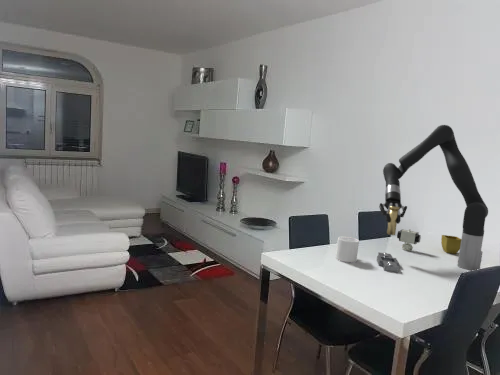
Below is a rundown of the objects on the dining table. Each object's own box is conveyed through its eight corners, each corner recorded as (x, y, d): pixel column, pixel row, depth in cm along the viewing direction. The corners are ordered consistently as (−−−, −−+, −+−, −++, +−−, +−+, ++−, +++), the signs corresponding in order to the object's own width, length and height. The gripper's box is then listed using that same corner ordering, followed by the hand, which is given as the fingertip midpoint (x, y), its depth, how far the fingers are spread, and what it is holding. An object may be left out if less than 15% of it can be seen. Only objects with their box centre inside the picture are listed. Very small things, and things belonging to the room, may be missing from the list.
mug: (348, 264, 184) (351, 242, 183) (331, 258, 191) (333, 237, 190) (363, 260, 192) (365, 240, 191) (346, 254, 200) (348, 235, 198)
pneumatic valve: (416, 253, 216) (419, 232, 214) (395, 248, 223) (398, 227, 221) (419, 251, 220) (422, 230, 219) (397, 246, 227) (400, 226, 226)
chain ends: (393, 259, 200) (393, 253, 199) (401, 273, 177) (402, 266, 177) (374, 256, 201) (375, 250, 201) (380, 270, 179) (381, 263, 178)
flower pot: (454, 251, 229) (456, 236, 228) (461, 255, 220) (463, 240, 219) (439, 249, 229) (441, 234, 228) (444, 253, 221) (447, 238, 220)
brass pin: (395, 233, 198) (398, 206, 197) (396, 235, 194) (400, 208, 192) (385, 232, 199) (388, 205, 198) (386, 234, 194) (390, 206, 193)
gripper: (379, 189, 202) (379, 216, 192) (408, 192, 200) (410, 219, 189) (377, 198, 208) (377, 224, 198) (405, 201, 205) (406, 228, 195)
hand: (393, 222), depth 194 cm, fingers closed on brass pin, 4 cm apart
